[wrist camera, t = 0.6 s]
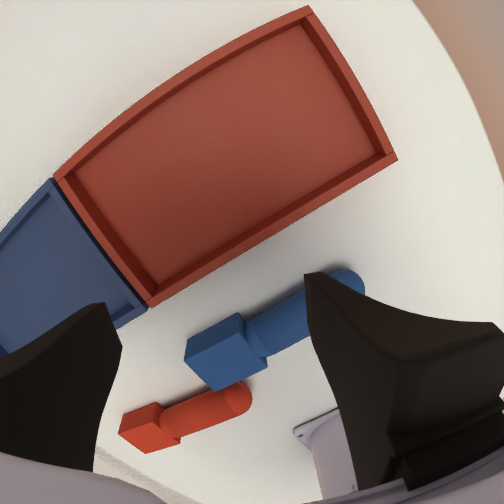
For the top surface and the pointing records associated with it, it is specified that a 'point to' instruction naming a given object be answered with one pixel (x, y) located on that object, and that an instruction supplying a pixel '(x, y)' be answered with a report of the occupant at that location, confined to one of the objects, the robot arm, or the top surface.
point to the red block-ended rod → (183, 417)
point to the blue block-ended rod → (253, 338)
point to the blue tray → (55, 271)
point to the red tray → (226, 155)
